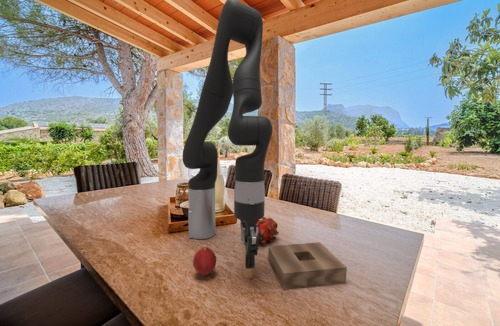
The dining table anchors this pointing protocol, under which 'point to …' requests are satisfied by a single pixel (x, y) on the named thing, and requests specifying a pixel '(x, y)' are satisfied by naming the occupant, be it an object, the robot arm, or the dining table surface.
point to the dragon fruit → (266, 229)
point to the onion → (204, 261)
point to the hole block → (305, 265)
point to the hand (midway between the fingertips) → (248, 263)
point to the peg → (246, 272)
